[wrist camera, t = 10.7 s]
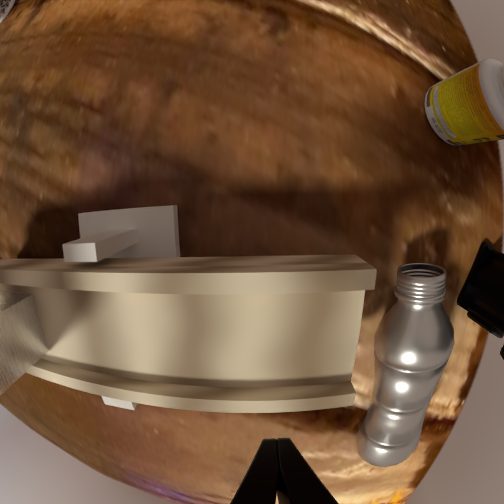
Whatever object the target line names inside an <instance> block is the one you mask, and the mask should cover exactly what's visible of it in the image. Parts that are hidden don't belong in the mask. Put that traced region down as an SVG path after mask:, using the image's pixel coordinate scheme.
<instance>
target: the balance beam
mask: <svg viewBox="0 0 504 504" xmlns="http://www.w3.org/2000/svg"><path fill="white" fill-rule="evenodd" d="M376 272H377V269H376V268H374V267H373V266H371V265H370V264H368V263H367V262H366V261H364V260H363V259H361V258H360V257H358V256H357V255H355V254H340V255H289V256H230V257H160V258H104V259H102V260H100V261H98V262H65V260H64V259H0V290H5V291H13V292H20V293H28V294H33V295H34V300H35V304H36V308H37V312H38V315H39V319H40V322H41V326H42V329H43V332H44V336H45V339H46V342H47V345H48V348H49V350H50V351H49V352H47V353H46V354H45V355H44V356H43V357H42V358H41V359H39V360H38V361H37V362H36V363H35V364H34V365H33V366H32V367H30V368H29V369H28V370H27V371H26V373H29V374H32V375H34V376H37V377H40V378H43V379H45V380H48V381H51V382H54V383H57V384H61V385H64V386H67V387H70V388H74V389H77V390H81V391H85V392H88V393H92V394H96V395H101V396H105V397H109V398H114V399H119V400H124V401H129V402H134V403H140V404H146V405H152V406H159V407H167V408H175V409H185V410H196V411H209V412H231V413H271V412H293V411H307V410H318V409H327V408H336V407H343V406H350V405H353V403H354V399H355V395H356V392H355V390H354V388H353V385H352V383H351V377H352V372H353V367H354V362H355V356H356V351H357V345H358V339H359V333H360V326H361V319H362V312H363V304H364V295H365V290H375V282H376Z"/></svg>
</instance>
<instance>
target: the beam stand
mask: <svg viewBox="0 0 504 504" xmlns="http://www.w3.org/2000/svg"><path fill="white" fill-rule="evenodd" d="M78 218H79V230H80V239H77V240H74V241H71V242H68V243H65V244H62V246H63V253H64V260H65V262H98V261H100V260H102V259H104V258H160V257H180V244H179V228H178V209H177V205H168V206H153V207H140V208H127V209H116V210H105V211H95V212H85V213H79V214H78ZM102 398H103V401H104V403H105V404H107V405H112V406H116V407H121V408H126V409H131V410H135V408H136V406H137V404H138V403H134V402H129V401H124V400H119V399H114V398H109V397H105V396H102Z"/></svg>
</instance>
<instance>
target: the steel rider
mask: <svg viewBox="0 0 504 504" xmlns="http://www.w3.org/2000/svg"><path fill="white" fill-rule="evenodd" d="M49 351H50V350H49V348H48V345H47V342H46V339H45V336H44V332H43V329H42V326H41V322H40V319H39V315H38V312H37V308H36V304H35V300H34V295H33V294H28V293H20V292H13V291H5V290H0V395H1V394H2V393H3V392H5V391H6V390H7V389H8V388H9V387H10V386H11V385H12V384H13V383H14V382H15V381H16V380H17V379H18V378H19V377H21V376H22V375H23V374H24V373H25V372H26V371H27V370H28V369H29V368H30V367H32V366H33V365H34V364H35V363H36V362H37V361H38V360H39V359H41V358H42V357H43V356H44V355H45V354H46V353H47V352H49Z"/></svg>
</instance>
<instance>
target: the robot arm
mask: <svg viewBox="0 0 504 504" xmlns="http://www.w3.org/2000/svg"><path fill="white" fill-rule="evenodd" d="M461 301H462V302H461ZM457 304H458V305H459V306H460V307H462V308H464V309H465V310H467V311H468V313H467V316H468V317H469V318H470V319H472V320H473V321H475V322H476V323H477V324H479V325H480V326H482V327H483V328H485V329H486V330H487V331H489V332H490V333H492V334H494V335H495V336H497V337H499V338H502V337H503V336H504V254H503V253H500V252H497V251H496V250H495V249H494V248H493V247H492V246H490V245H489V244H488V243H486V242H483V243H482V245H481V247H480V250H479V252H478V255H477V257H476V260H475V262H474V265H473V267H472V270H471V272H470V274H469V276H468V279H467V281H466V283H465V285H464V287H463V289H462V291H461V294H460V296H459V298H458V300H457ZM500 355H501V356H502V358H503V359H504V345H503V347H502V348H501V351H500ZM276 494H277V496H278V502H279V504H338V502H337V501H336V500H335V499H334V497H333V496H332V495H331V493H330V492H329V491H328V490H327V488H326V487H325V486H324V485H323V483H322V482H321V481H320V479H319V478H318V477H317V475H316V474H315V473H314V471H313V470H312V469H311V467H310V466H309V465H308V463H307V462H306V460H305V459H304V458H303V456H302V455H301V453H300V452H299V451H298V449H297V448H296V446H295V445H294V444H293V442H292V441H291V439H290V438H278V439H277V440H276V439H274V438H272V439H263V441H262V443H261V445H260V447H259V449H258V451H257V453H256V455H255V457H254V459H253V461H252V463H251V465H250V467H249V469H248V471H247V473H246V475H245V477H244V479H243V481H242V483H241V485H240V487H239V489H238V490H237V492H236V494H235V496H234V498H233V500H232V501H231V503H230V504H275V502H276Z"/></svg>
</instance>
